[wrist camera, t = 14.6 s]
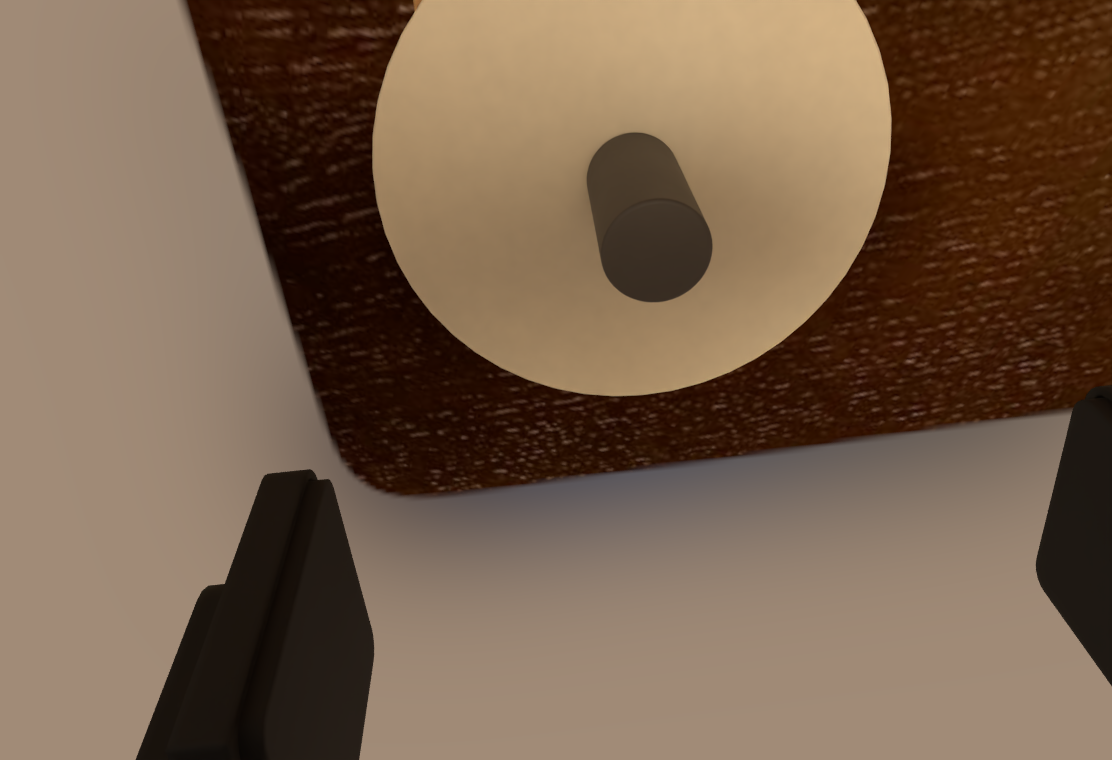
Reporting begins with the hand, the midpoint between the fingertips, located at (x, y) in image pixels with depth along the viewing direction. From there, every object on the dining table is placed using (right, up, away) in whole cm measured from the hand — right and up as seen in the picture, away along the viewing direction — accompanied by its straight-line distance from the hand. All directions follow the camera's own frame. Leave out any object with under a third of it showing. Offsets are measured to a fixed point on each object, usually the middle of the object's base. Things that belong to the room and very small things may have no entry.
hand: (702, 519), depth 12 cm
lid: (0, +7, +13) cm, 15 cm away
